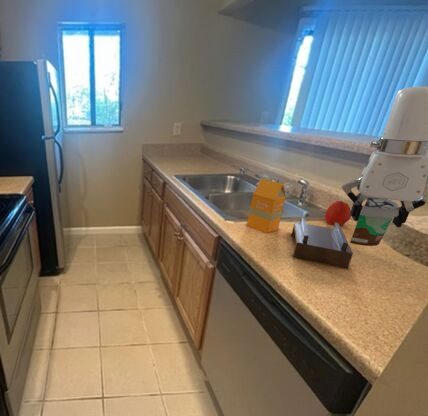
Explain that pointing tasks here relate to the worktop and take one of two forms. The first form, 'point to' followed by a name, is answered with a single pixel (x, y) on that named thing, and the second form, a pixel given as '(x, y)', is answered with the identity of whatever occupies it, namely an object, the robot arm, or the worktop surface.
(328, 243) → the dark wooden tray
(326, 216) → the apple
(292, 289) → the worktop surface
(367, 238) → the food container
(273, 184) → the orange juice
